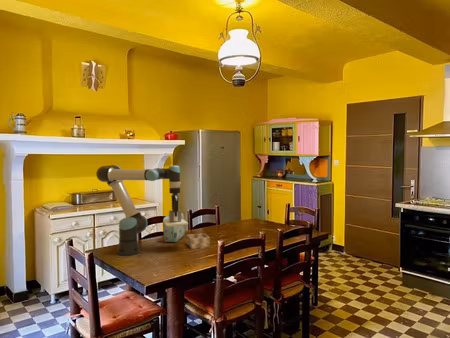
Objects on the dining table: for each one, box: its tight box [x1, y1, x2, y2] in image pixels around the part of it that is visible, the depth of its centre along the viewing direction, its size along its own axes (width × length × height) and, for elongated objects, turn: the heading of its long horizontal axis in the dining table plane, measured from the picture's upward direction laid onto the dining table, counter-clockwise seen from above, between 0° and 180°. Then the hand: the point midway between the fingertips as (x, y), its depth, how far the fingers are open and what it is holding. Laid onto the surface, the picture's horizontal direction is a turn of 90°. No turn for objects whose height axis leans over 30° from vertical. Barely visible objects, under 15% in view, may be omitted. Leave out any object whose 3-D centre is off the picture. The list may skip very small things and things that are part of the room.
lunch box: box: [162, 212, 186, 243], centre depth 277 cm, size 27×10×21 cm, turn 168°
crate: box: [186, 233, 211, 250], centre depth 260 cm, size 14×14×7 cm
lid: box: [162, 209, 189, 227], centre depth 248 cm, size 15×15×10 cm
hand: (175, 220), depth 248 cm, fingers closed on lid, 3 cm apart
